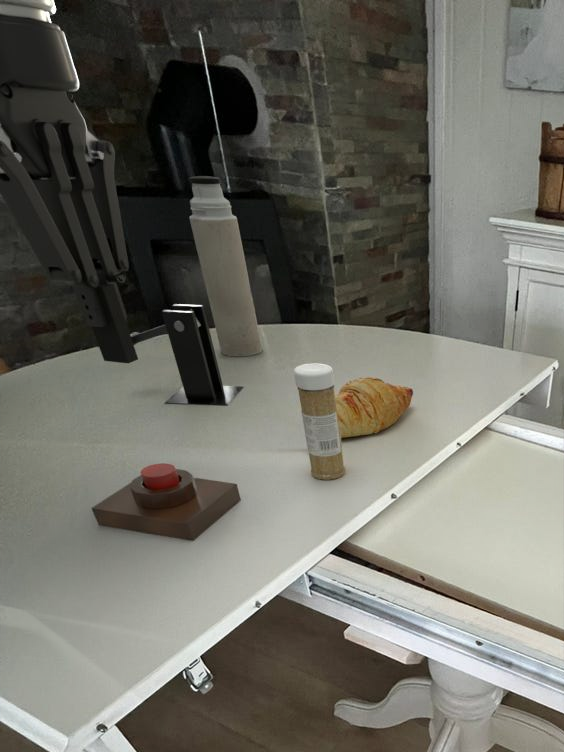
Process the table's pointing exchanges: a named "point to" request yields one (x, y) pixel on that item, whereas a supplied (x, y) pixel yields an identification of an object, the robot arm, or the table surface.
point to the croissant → (370, 406)
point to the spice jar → (320, 419)
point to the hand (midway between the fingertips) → (121, 359)
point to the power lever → (153, 332)
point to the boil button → (160, 476)
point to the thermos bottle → (224, 268)
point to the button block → (168, 507)
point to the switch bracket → (196, 359)
